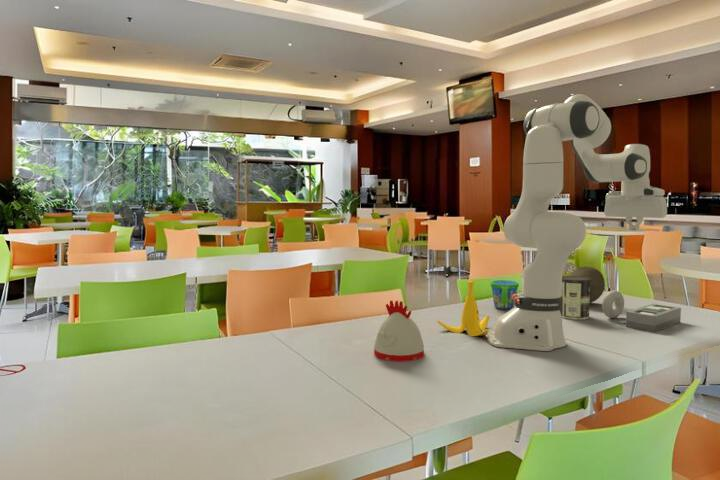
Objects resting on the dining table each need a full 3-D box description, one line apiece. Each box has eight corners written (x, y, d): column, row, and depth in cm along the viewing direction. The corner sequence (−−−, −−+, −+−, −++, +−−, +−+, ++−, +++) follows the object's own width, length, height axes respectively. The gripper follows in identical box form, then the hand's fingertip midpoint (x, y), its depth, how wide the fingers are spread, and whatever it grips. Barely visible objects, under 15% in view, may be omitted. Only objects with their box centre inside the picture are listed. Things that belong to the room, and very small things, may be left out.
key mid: (657, 315, 173) (657, 309, 173) (645, 313, 176) (645, 307, 176) (662, 313, 176) (663, 307, 175) (650, 311, 179) (650, 305, 179)
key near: (649, 321, 169) (649, 315, 169) (636, 319, 173) (636, 313, 172) (654, 319, 172) (654, 314, 172) (642, 317, 175) (642, 311, 175)
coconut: (559, 302, 214) (559, 265, 213) (587, 299, 219) (588, 264, 217) (583, 308, 201) (584, 270, 200) (613, 306, 205) (614, 268, 204)
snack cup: (517, 313, 195) (517, 286, 194) (488, 311, 199) (488, 284, 198) (519, 304, 210) (519, 279, 209) (492, 303, 213) (492, 278, 212)
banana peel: (489, 326, 177) (489, 277, 176) (489, 341, 159) (489, 286, 157) (439, 323, 181) (440, 275, 180) (434, 338, 163) (434, 285, 161)
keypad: (654, 331, 167) (655, 316, 166) (626, 326, 174) (626, 311, 173) (680, 322, 179) (680, 307, 178) (652, 317, 186) (653, 303, 186)
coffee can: (582, 313, 194) (583, 275, 193) (594, 319, 183) (595, 280, 182) (554, 313, 194) (555, 275, 193) (564, 320, 184) (565, 280, 183)
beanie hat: (393, 344, 156) (393, 294, 155) (433, 352, 148) (433, 299, 146) (364, 355, 146) (363, 302, 144) (405, 364, 137) (405, 308, 136)
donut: (608, 320, 182) (609, 292, 181) (599, 318, 185) (600, 291, 184) (626, 317, 187) (626, 289, 186) (617, 315, 190) (618, 288, 189)
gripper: (601, 191, 190) (600, 229, 191) (661, 190, 174) (660, 232, 175) (610, 191, 194) (609, 228, 195) (669, 190, 178) (668, 231, 179)
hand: (633, 230), depth 185 cm, fingers closed
